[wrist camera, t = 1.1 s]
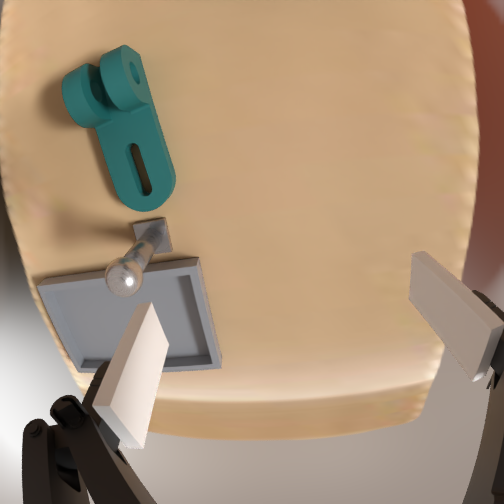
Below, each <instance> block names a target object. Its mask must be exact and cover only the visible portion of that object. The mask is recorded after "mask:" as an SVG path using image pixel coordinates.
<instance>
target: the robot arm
mask: <svg viewBox="0 0 504 504" xmlns="http://www.w3.org/2000/svg"><path fill="white" fill-rule="evenodd" d="M409 300H410V301H411V302H412V304H413V305H414V306H415V307H416V309H417V310H418V311H419V312H420V313H421V315H422V316H423V317H424V318H425V320H426V321H427V322H428V323H429V325H430V326H431V327H432V328H433V330H434V331H435V332H436V334H437V335H438V336H439V337H440V339H441V340H442V341H443V343H444V344H445V345H446V347H447V348H448V349H449V351H450V352H451V353H452V355H453V356H454V357H455V358H456V360H457V361H458V363H459V364H460V365H461V367H462V368H463V370H464V371H465V372H466V374H467V375H468V376H469V378H470V379H471V381H472V382H474V381H476V380H478V379H480V378H482V377H484V376H486V374H487V371H488V369H489V367H490V366H491V367H492V368H493V369H494V372H493V375H492V377H491V379H490V381H489V383H488V386H487V389H489V387H490V385H491V388H490V396H489V402H488V409H487V414H486V420H485V425H484V430H483V435H482V439H481V444H480V448H479V452H478V456H477V460H476V463H475V467H474V470H473V473H472V477H471V480H470V483H469V486H468V489H467V492H466V495H465V498H464V500H463V503H462V504H504V312H503V311H501V310H500V309H499V308H498V307H496V305H495V304H494V303H493V302H491V300H490V299H488V298H487V297H486V296H485V295H484V294H482V293H480V292H478V291H476V290H473V291H471V290H469V289H468V288H467V287H466V286H465V285H464V284H463V283H462V282H461V281H459V280H458V279H457V278H456V277H455V276H454V275H453V274H451V273H450V272H449V271H448V270H447V269H446V268H444V267H443V266H442V265H441V264H440V263H438V262H437V261H436V260H435V259H434V258H432V257H431V256H430V255H429V254H428V253H426V252H425V251H421V252H416V253H412V263H411V279H410V292H409ZM168 347H169V343H168V341H167V339H166V336H165V334H164V332H163V329H162V327H161V324H160V322H159V319H158V317H157V314H156V312H155V309H154V307H153V304H152V302H148V303H141V304H138V305H137V307H136V309H135V311H134V313H133V315H132V317H131V319H130V321H129V323H128V325H127V327H126V329H125V332H124V334H123V336H122V338H121V340H120V342H119V344H118V347H117V349H116V351H115V353H114V355H113V357H112V360H111V361H105V362H104V363H103V364H102V365H101V366H100V367H99V368H98V369H97V371H96V373H95V375H94V377H93V380H92V382H91V384H90V386H89V388H88V390H87V393H86V395H85V397H84V400H83V402H82V404H81V403H80V402H79V400H78V399H77V398H76V397H75V396H72V395H65V396H63V397H60V398H59V399H58V400H56V401H55V402H54V403H53V405H52V407H51V409H50V415H51V417H52V418H53V419H54V420H55V421H56V422H57V425H52V426H49V425H48V424H47V423H46V422H45V421H44V420H43V419H34V420H32V421H30V422H29V423H28V424H27V425H26V427H25V428H24V432H23V444H22V488H23V504H90V502H89V497H88V493H87V489H88V491H89V493H90V495H91V497H92V499H93V501H94V503H95V504H157V503H156V502H155V501H154V499H153V498H152V497H151V495H150V494H149V492H148V491H147V490H146V488H145V487H144V485H143V484H142V483H141V481H140V480H139V478H138V477H137V476H136V474H135V472H134V471H133V469H132V468H131V466H130V465H129V463H128V462H127V460H126V458H125V457H124V455H123V454H122V452H121V451H120V450H119V449H118V445H119V442H120V441H121V442H122V443H123V444H124V445H125V447H126V448H136V449H137V448H138V449H143V448H144V444H145V439H146V435H147V430H148V426H149V422H150V417H151V413H152V409H153V405H154V401H155V397H156V393H157V389H158V385H159V381H160V377H161V373H162V369H163V365H164V362H165V358H166V354H167V350H168ZM86 487H87V488H86Z"/></svg>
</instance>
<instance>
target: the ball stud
mask: <svg viewBox="0 0 504 504" xmlns="http://www.w3.org/2000/svg"><path fill="white" fill-rule="evenodd" d="M133 228H134V232H135V236H136V240H137V241H136V242H135V244H134V245H133V246H132V247H131V248H130V250H129V251H128V252H127V253H126V254H125V256H124V257H120V258H117V259H115V260H113V261H112V262H111V263H110V264H109V265H108V267H107V269H106V272H105V282H106V285H107V287H108V289H109V290H110V291H111V292H112V293H113V294H114V295H116V296H118V297H123V298H126V297H131V296H133V295H135V294H136V293H137V292H138V291H139V290H140V289H141V287H142V284H143V280H144V276H143V271H144V269H145V268H146V266H147V264H148V263H149V261H150V259H151V258H152V256H153V255H154V254H159V253H166V252H172V250H173V248H172V244H171V240H170V235H169V231H168V226H167V222H166V218H161V219H155V220H150V221H144V222H138V223H134V224H133Z"/></svg>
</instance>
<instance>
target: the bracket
mask: <svg viewBox="0 0 504 504" xmlns="http://www.w3.org/2000/svg"><path fill="white" fill-rule="evenodd" d="M62 95H63V100H64V103H65V106H66V108H67V110H68V112H69V114H70V116H71V117H72V118H73V120H74V121H75V122H76V123H77V124H78V125H80V126H81V127H84V128H95V129H96V132H97V135H98V138H99V142H100V145H101V148H102V151H103V154H104V157H105V160H106V164H107V167H108V170H109V173H110V175H111V178H112V181H113V184H114V187H115V190H116V192H117V195H118V197H119V198H120V200H121V201H122V202H123V203H124V204H125V205H126V206H127V207H129V208H131V209H133V210H136V211H141V212H146V211H151V210H154V209H156V208H158V207H160V206H161V205H162V204H163V203H164V202H165V201H166V200H167V199H168V198H169V197H170V195H171V194H172V192H173V190H174V187H175V182H176V175H175V170H174V167H173V164H172V161H171V158H170V155H169V152H168V148H167V145H166V142H165V139H164V136H163V133H162V129H161V126H160V123H159V120H158V116H157V113H156V110H155V106H154V103H153V99H152V96H151V93H150V89H149V86H148V82H147V79H146V75H145V72H144V68H143V65H142V61H141V57H140V54H138V53H137V52H136V51H134V50H133V49H131V48H130V47H129V46H127V45H122V46H120V47H118V48H116V49H114V50H112V51H110V52H108V53H105V54H103V55H102V57H101V59H100V67H96V66H94V65H91V64H84V65H82V66H80V67H79V68H77V69H75V70H73V71H72V72H70V73H68V74H67V75H65V77H64V78H63V81H62ZM134 143H135V144H137V145H138V147H139V149H140V153H141V156H142V159H143V162H144V165H145V168H146V171H147V174H148V177H149V180H150V183H151V186H152V192H151V193H149V192H146V191H145V190H144V188H143V185H142V182H141V179H140V176H139V173H138V170H137V167H136V164H135V161H134V158H133V155H132V152H131V147H132V145H133V144H134Z"/></svg>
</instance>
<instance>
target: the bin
mask: <svg viewBox="0 0 504 504" xmlns="http://www.w3.org/2000/svg"><path fill="white" fill-rule="evenodd" d="M105 272H106V270H102V271H95V272H88V273H80V274H73V275H66V276H58V277H51V278H45V279H44V280H43V281H42V282H41V283H40V284H39V285H38V286H37V288H38V291H39V293H40V295H41V298H42V300H43V303H44V305H45V307H46V310H47V312H48V314H49V316H50V318H51V321H52V323H53V325H54V327H55V329H56V331H57V333H58V335H59V337H60V339H61V341H62V343H63V345H64V347H65V349H66V351H67V353H68V355H69V357H70V358H71V360H72V362H73V364H74V366H75V368H76V369H77V371H78V372H81V373H96V371H97V369H98V368H99V367H100V366H101V365H102V364H103V363H104V362H105V361H111V360H112V357H113V355H114V353H115V351H116V349H117V347H118V344H119V342H120V340H121V338H122V336H123V334H124V332H125V329H126V327H127V325H128V323H129V321H130V319H131V317H132V315H133V313H134V311H135V309H136V307H137V305H138V304H141V303H148V302H152V304H153V307H154V309H155V312H156V314H157V317H158V319H159V322H160V324H161V327H162V329H163V332H164V334H165V336H166V339H167V341H168V343H169V347H168V350H167V354H166V358H165V362H164V365H163V369H162V372H180V371H196V370H209V369H220V368H221V365H222V355H221V351H220V347H219V343H218V339H217V335H216V331H215V327H214V323H213V318H212V314H211V310H210V306H209V301H208V297H207V292H206V288H205V283H204V279H203V274H202V269H201V265H200V260H199V257H197V258H190V259H183V260H175V261H168V262H161V263H153V264H147V266H146V268H145V269H144V271H143V276H144V280H143V284H142V287H141V289H140V290H139V291H138V292H137V293H136V294H135V295H133V296H131V297H126V298H123V297H118V296H116V295H114V294H113V293H112V292H111V291H110V290H109V289H108V287H107V285H106V282H105Z"/></svg>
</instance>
